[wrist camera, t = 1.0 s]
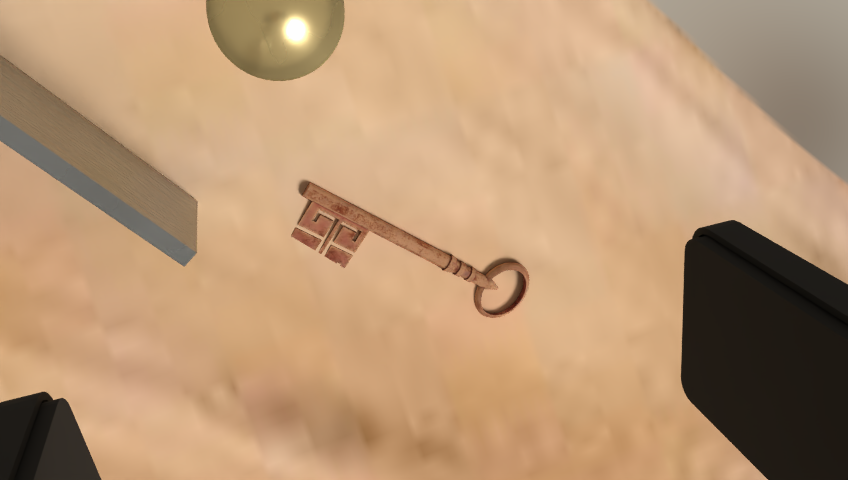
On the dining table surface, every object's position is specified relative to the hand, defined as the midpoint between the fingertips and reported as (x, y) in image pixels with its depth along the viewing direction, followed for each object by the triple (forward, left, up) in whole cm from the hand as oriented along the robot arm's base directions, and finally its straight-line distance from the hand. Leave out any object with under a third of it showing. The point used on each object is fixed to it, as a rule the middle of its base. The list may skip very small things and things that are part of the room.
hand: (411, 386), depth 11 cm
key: (-2, -13, -28) cm, 31 cm away
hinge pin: (+3, +3, -28) cm, 28 cm away
